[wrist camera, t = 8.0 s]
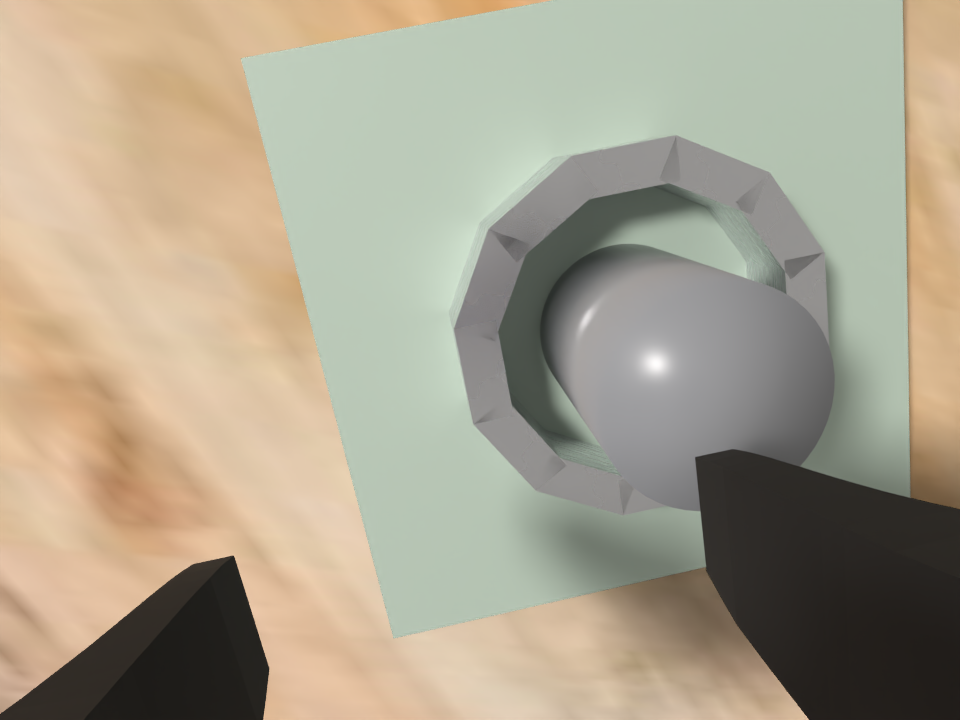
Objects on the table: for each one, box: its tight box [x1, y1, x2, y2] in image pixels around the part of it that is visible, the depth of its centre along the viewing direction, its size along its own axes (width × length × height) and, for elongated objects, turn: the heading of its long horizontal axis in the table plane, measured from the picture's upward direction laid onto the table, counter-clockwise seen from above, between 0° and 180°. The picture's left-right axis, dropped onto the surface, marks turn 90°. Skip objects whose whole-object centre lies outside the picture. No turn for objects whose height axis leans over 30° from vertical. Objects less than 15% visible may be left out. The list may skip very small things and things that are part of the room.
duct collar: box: [449, 135, 829, 515], centre depth 18 cm, size 9×9×2 cm
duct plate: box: [241, 0, 910, 638], centre depth 19 cm, size 16×16×1 cm
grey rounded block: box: [540, 244, 835, 511], centre depth 16 cm, size 4×5×6 cm
